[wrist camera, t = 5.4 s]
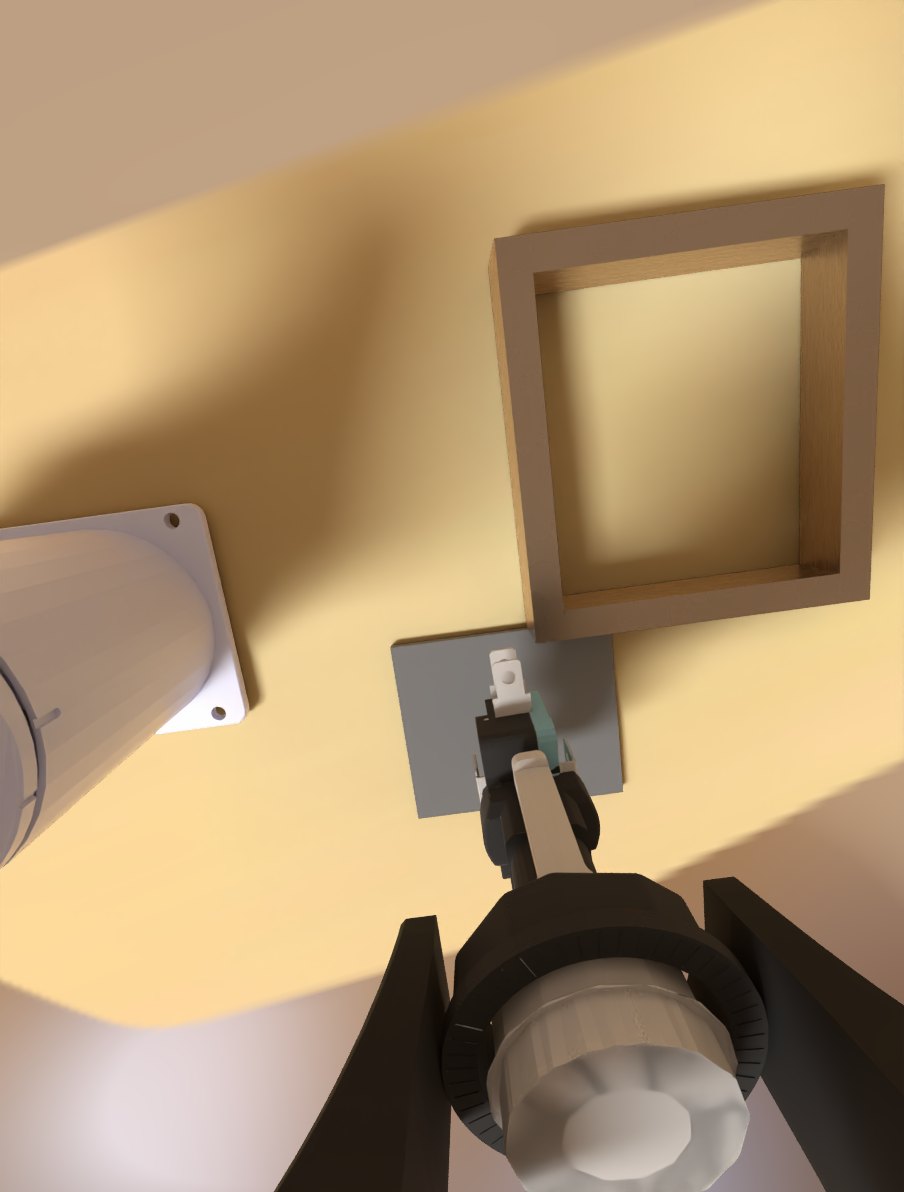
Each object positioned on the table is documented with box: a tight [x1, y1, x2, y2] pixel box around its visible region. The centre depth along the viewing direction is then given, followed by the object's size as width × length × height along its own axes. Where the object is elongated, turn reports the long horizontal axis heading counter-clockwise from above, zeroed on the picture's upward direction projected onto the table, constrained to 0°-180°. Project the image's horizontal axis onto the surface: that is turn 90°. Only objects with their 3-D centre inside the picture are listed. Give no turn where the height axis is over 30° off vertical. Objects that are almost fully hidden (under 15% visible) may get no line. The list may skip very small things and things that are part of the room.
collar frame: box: [488, 184, 885, 644], centre depth 17 cm, size 11×12×2 cm
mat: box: [391, 628, 623, 819], centre depth 20 cm, size 8×7×1 cm
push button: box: [441, 647, 768, 1192], centre depth 12 cm, size 7×5×10 cm
